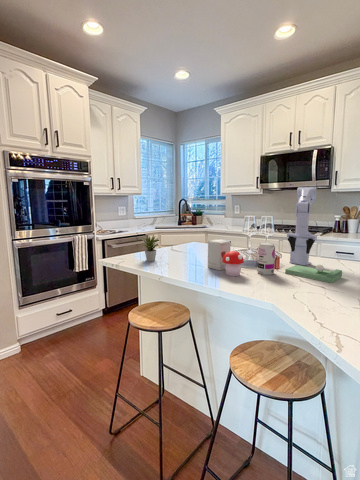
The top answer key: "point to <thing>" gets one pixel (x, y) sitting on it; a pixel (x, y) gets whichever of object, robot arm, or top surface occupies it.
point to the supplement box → (217, 253)
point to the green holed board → (315, 273)
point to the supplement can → (266, 258)
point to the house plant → (150, 248)
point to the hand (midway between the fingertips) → (300, 252)
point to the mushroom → (233, 263)
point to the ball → (319, 268)
